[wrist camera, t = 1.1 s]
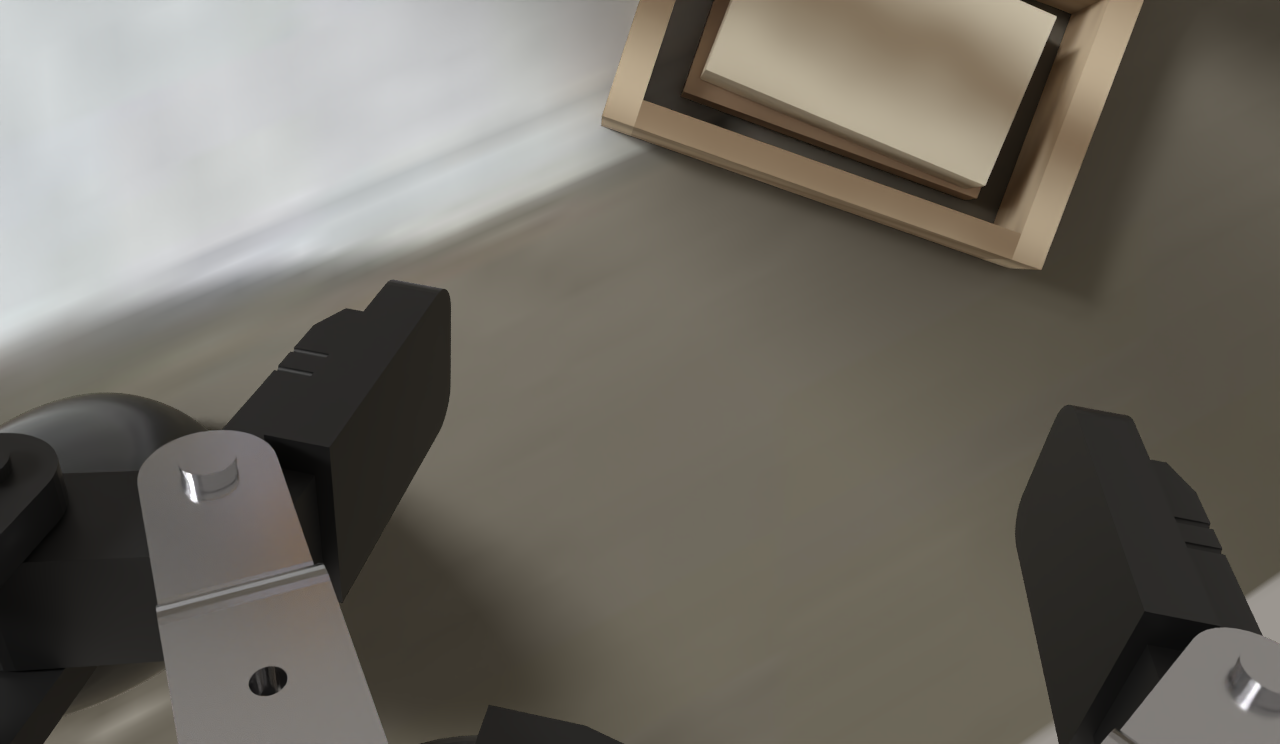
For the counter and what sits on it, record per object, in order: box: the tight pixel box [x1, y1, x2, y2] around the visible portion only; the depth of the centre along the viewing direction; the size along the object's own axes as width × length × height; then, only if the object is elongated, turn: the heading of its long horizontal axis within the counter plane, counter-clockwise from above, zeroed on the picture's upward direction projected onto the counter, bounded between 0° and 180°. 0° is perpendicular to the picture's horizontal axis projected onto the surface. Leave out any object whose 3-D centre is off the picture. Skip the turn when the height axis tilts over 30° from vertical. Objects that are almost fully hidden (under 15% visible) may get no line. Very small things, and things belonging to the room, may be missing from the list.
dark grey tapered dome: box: [0, 393, 209, 717], centre depth 32 cm, size 10×10×15 cm
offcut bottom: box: [681, 0, 982, 200], centre depth 38 cm, size 7×12×2 cm, turn 71°
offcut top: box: [700, 0, 1057, 189], centre depth 36 cm, size 6×11×2 cm, turn 68°
